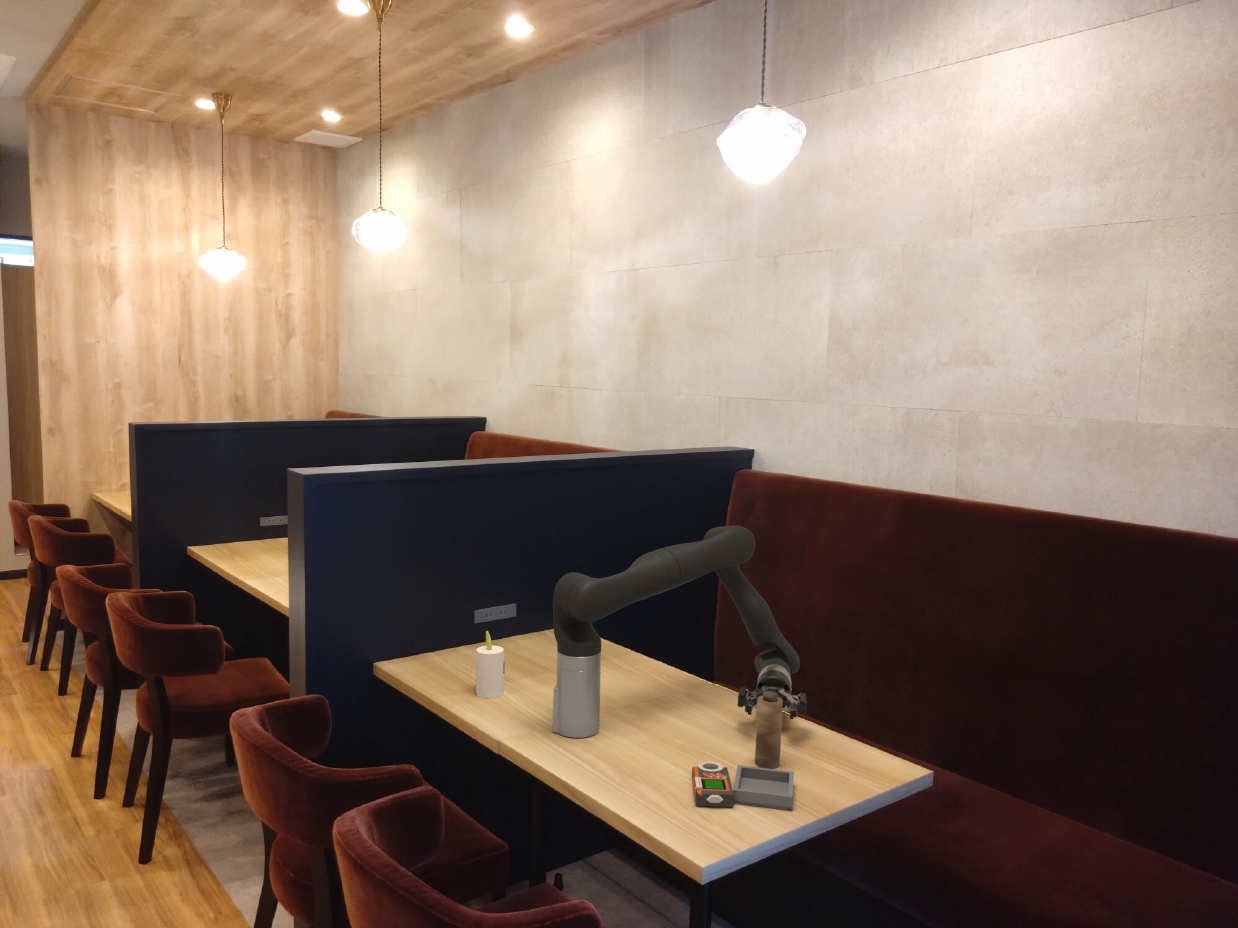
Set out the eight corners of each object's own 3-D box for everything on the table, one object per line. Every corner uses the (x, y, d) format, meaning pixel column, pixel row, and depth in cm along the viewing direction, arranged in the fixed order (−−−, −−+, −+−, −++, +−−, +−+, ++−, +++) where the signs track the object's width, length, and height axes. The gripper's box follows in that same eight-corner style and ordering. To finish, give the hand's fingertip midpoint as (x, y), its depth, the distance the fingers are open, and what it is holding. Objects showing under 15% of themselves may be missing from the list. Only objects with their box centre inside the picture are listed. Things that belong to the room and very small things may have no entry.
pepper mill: (754, 767, 175) (757, 696, 174) (755, 756, 180) (758, 688, 179) (779, 770, 174) (782, 699, 173) (780, 759, 179) (783, 690, 178)
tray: (732, 803, 161) (733, 789, 160) (737, 777, 171) (737, 764, 171) (792, 810, 159) (792, 796, 158) (793, 784, 169) (793, 771, 168)
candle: (504, 697, 209) (505, 634, 207) (476, 698, 208) (476, 635, 206) (503, 688, 215) (504, 626, 213) (475, 688, 214) (476, 627, 212)
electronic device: (725, 760, 173) (734, 793, 158) (725, 775, 174) (733, 809, 159) (690, 759, 173) (695, 792, 159) (690, 774, 174) (695, 808, 159)
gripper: (742, 666, 202) (736, 691, 186) (807, 672, 199) (807, 698, 183) (741, 698, 203) (735, 726, 187) (805, 705, 200) (805, 733, 184)
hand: (770, 712), depth 185 cm, fingers open, 8 cm apart
